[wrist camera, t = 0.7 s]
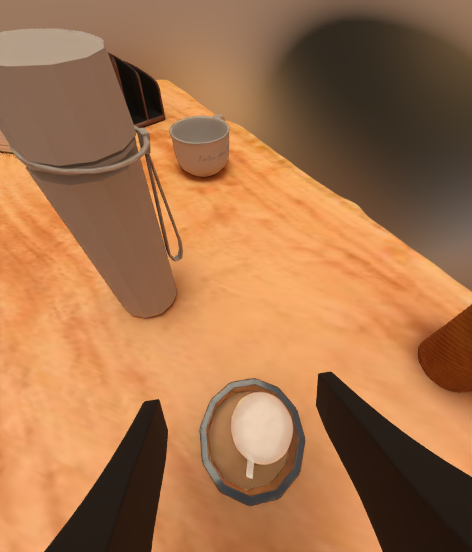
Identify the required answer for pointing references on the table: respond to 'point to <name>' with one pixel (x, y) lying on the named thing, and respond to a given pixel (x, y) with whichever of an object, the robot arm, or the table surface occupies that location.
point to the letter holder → (138, 93)
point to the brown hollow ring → (293, 457)
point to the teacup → (201, 144)
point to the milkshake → (261, 429)
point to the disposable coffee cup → (450, 354)
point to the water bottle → (88, 158)
